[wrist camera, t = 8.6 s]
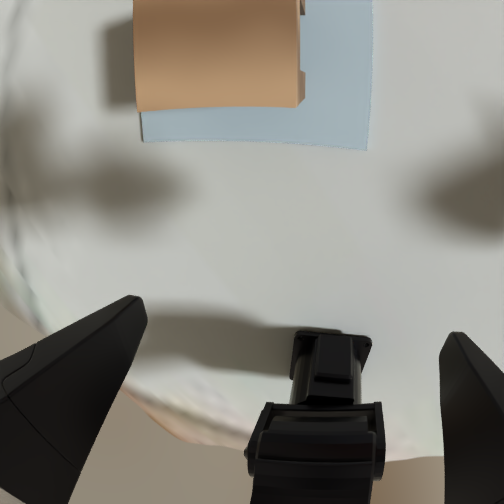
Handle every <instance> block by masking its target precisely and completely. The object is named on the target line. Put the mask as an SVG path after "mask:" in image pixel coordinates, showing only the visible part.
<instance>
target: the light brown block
mask: <svg viewBox="0 0 504 504" xmlns="http://www.w3.org/2000/svg"><path fill="white" fill-rule="evenodd" d="M300 15H305V0H133V46H134V71H135V88H136V102H137V112H146V111H157V110H169V109H183V108H202V107H285V108H296V107H297V106H298V105H299V104H300V103H301V102H302V101H303V100H304V99H305V76H306V73H305V72H303V71H301V70H300Z"/></svg>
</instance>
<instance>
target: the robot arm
mask: <svg viewBox="0 0 504 504" xmlns="http://www.w3.org/2000/svg"><path fill="white" fill-rule="evenodd" d="M146 326H147V314H146V310H145V307H144V303H143V300H142V298H141V297H139V296H134V295H127V296H125V297H123V298H121V299H119V300H117V301H115V302H114V303H112V304H110V305H108V306H106V307H104V308H102V309H100V310H98V311H96V312H94V313H92V314H90V315H88V316H86V317H84V318H82V319H80V320H79V321H77V322H75V323H73V324H71V325H69V326H67V327H65V328H63V329H61V330H59V331H57V332H56V333H54V334H52V335H50V336H48V337H46V338H44V339H43V340H40V341H38V342H37V343H36V344H33V345H31V346H29V347H27V348H25V349H23V350H21V351H19V352H17V353H15V354H13V355H11V356H9V357H7V358H4V359H3V360H0V504H68V502H69V500H70V497H71V495H72V492H73V490H74V488H75V485H76V483H77V481H78V478H79V476H80V474H81V471H82V469H83V466H84V464H85V462H86V460H87V457H88V455H89V453H90V451H91V448H92V446H93V444H94V442H95V440H96V437H97V435H98V433H99V431H100V428H101V427H102V424H103V422H104V420H105V418H106V416H107V414H108V412H109V409H110V408H111V405H112V403H113V401H114V399H115V397H116V395H117V393H118V391H119V389H120V387H121V385H122V383H123V381H124V379H125V377H126V375H127V373H128V371H129V369H130V367H131V364H132V362H133V360H134V357H135V354H136V352H137V349H138V346H139V344H140V341H141V339H142V336H143V333H144V331H145V328H146ZM365 343H367V344H365ZM371 347H372V340H371V339H370V338H367V337H355V336H344V335H333V334H323V333H314V332H305V331H298V332H296V334H295V338H294V346H293V354H292V362H291V369H290V379H291V380H293V384H292V390H291V396H290V402H289V404H274V402H266V404H265V407H264V409H263V410H262V411H261V414H260V416H259V419H258V421H257V424H256V426H255V429H254V431H253V433H252V436H251V438H250V440H249V443H248V445H247V447H246V448H245V450H244V456H245V457H246V459H247V460H248V473H249V475H250V476H251V477H254V478H253V490H252V497H251V501H250V504H370V499H371V491H372V484H373V481H380V480H381V478H382V475H383V471H384V464H385V451H386V442H385V430H384V421H383V412H382V404H381V402H374V403H367V404H361V373H362V370H363V368H364V365H365V363H366V360H367V358H368V355H369V352H370V350H371ZM439 371H440V406H441V417H442V429H443V443H444V465H445V502H444V503H445V504H504V373H503V372H502V371H501V370H500V369H499V368H498V367H497V366H496V365H495V363H494V362H493V361H492V360H491V359H490V358H489V357H488V356H487V355H486V354H485V353H484V352H483V351H482V350H481V349H480V348H479V347H478V346H477V345H476V344H475V343H474V342H473V341H472V340H471V339H470V338H469V337H468V336H467V335H466V334H465V333H463V332H451V333H450V334H449V335H448V337H447V339H446V341H445V343H444V345H443V347H442V349H441V351H440V355H439Z"/></svg>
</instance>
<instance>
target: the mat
mask: <svg viewBox="0 0 504 504" xmlns="http://www.w3.org/2000/svg"><path fill="white" fill-rule="evenodd" d="M372 64H373V5H372V0H305V15H300V70H301V71H303V72H305V73H306V76H305V99H304V100H303V101H302V102H301V103H300V104H299V105H298V106H297V107H296V108H285V107H202V108H183V109H169V110H157V111H146V112H141V118H142V129H143V139H144V142H164V141H252V142H275V143H292V144H305V145H317V146H328V147H338V148H348V149H356V150H364V151H367V143H368V132H369V120H370V106H371V89H372Z"/></svg>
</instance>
